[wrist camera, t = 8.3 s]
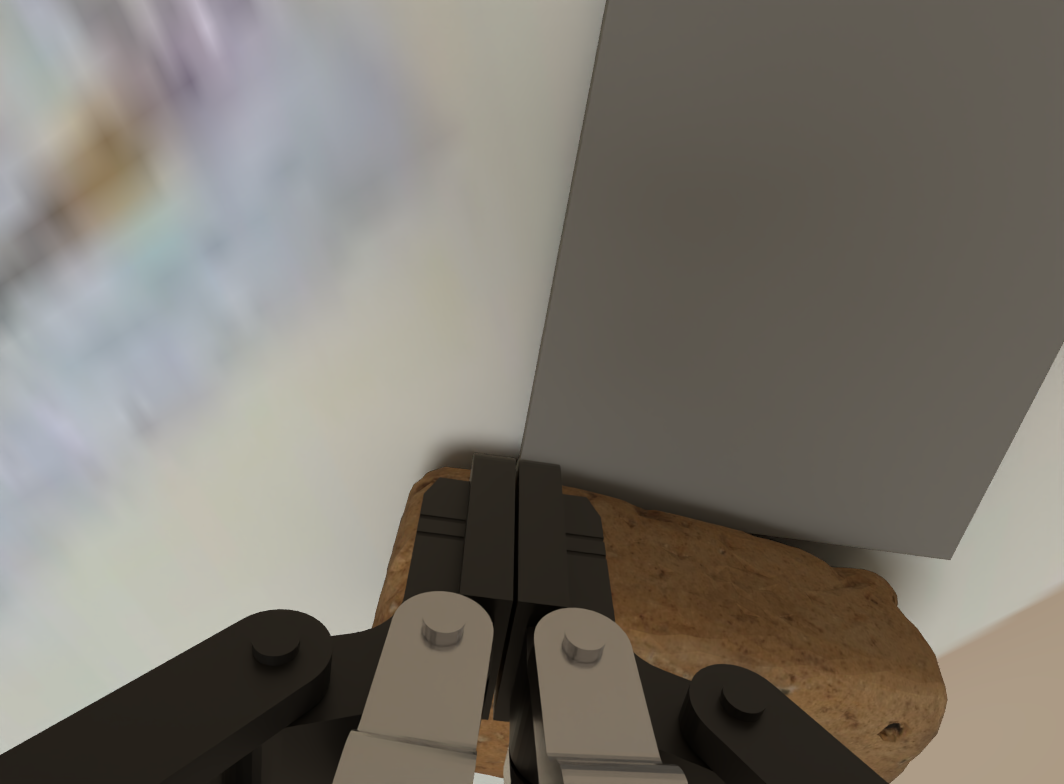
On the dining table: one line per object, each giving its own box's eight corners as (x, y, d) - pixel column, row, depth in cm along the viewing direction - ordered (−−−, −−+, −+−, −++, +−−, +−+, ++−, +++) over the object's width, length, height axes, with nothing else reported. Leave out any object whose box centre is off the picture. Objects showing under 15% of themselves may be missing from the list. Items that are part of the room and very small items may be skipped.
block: (383, 586, 23) (991, 716, 26) (420, 429, 30) (909, 547, 32) (331, 779, 29) (829, 868, 32) (370, 615, 36) (786, 701, 38)
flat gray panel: (623, -90, 23) (626, -91, 22) (1206, 26, 24) (1226, 28, 24) (512, 489, 32) (512, 501, 31) (941, 547, 33) (950, 560, 33)
